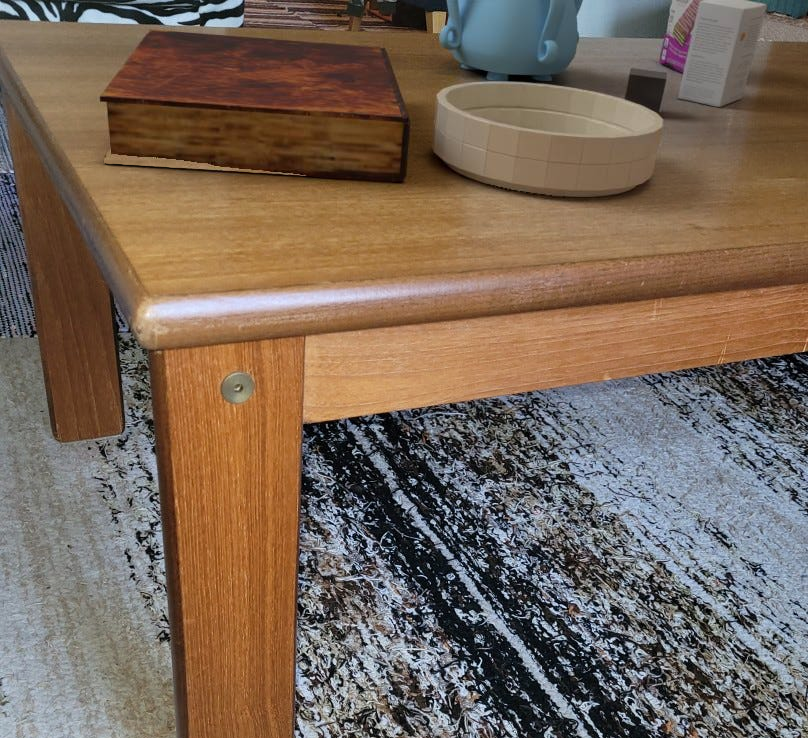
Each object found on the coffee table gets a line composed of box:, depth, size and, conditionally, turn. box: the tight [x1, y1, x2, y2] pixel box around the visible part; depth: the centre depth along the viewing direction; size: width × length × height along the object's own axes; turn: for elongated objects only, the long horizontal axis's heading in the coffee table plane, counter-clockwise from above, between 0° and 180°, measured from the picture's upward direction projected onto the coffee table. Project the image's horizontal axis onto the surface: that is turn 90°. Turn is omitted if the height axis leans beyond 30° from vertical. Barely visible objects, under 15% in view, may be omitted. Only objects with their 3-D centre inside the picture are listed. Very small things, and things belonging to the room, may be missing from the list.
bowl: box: [431, 80, 664, 198], centre depth 87 cm, size 20×20×5 cm
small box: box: [677, 0, 768, 108], centre depth 117 cm, size 8×6×10 cm
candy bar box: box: [658, 0, 749, 74], centre depth 129 cm, size 11×5×16 cm, turn 17°
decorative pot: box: [438, 0, 584, 82], centre depth 118 cm, size 16×16×14 cm
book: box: [99, 29, 412, 184], centre depth 90 cm, size 30×24×5 cm
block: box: [624, 67, 668, 116], centre depth 109 cm, size 4×4×4 cm
